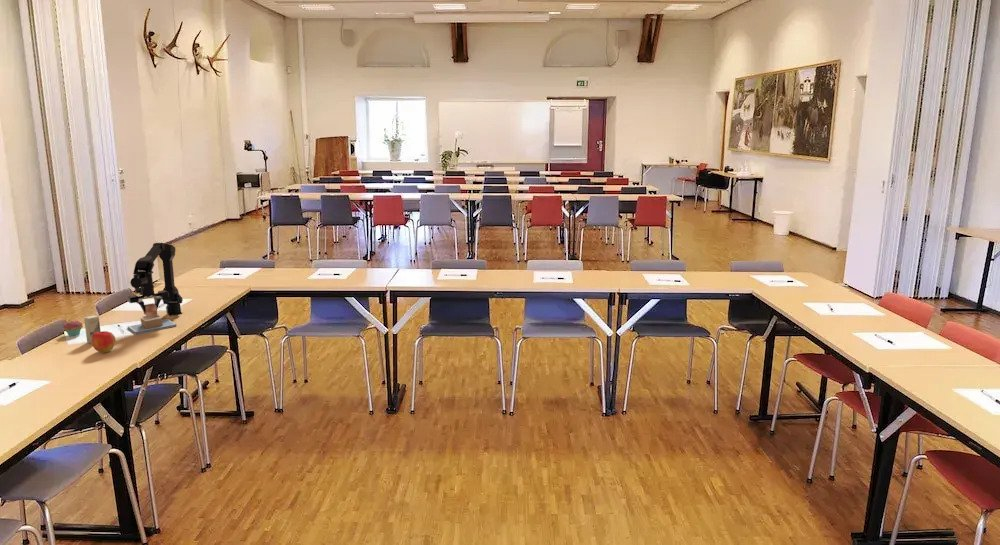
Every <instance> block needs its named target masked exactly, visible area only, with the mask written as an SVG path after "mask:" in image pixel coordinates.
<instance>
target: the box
mask: <svg viewBox="0 0 1000 545" xmlns="http://www.w3.org/2000/svg"><path fill="white" fill-rule="evenodd" d="M83 319H84V329H85V337H86V342H87V343H88V344H92V337H93V334H94V333H97V332H102V331H101V324H100V316H97V315H89V316H84V317H83Z"/></svg>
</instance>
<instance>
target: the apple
mask: <svg viewBox="0 0 1000 545" xmlns="http://www.w3.org/2000/svg"><path fill="white" fill-rule="evenodd" d="M115 345H116V336H115V334H113V333H112V332H110V331H105V330H104V331H101V332H97V333H94V334H93V337H92V346H93V349H95V351H97V352H98V353H103V354H105V353H108V352H111V351H112V350H113V349H114V348H115Z"/></svg>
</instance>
